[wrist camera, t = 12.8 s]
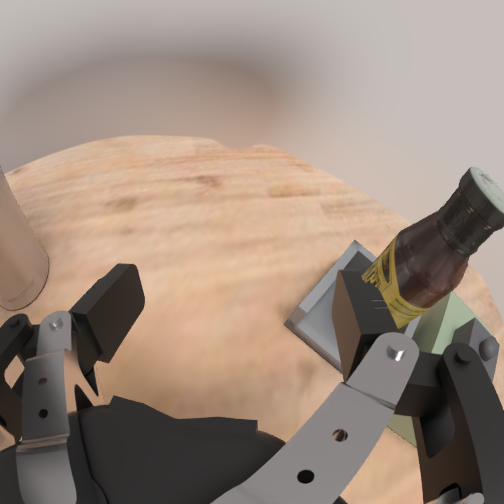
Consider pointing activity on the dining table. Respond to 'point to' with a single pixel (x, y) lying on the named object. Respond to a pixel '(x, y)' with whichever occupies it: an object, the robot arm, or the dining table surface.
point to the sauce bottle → (437, 248)
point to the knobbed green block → (420, 329)
